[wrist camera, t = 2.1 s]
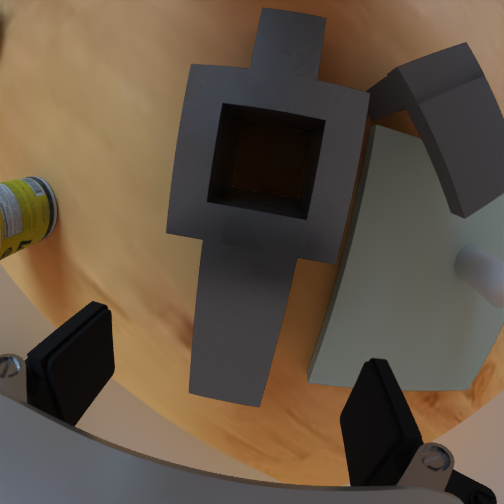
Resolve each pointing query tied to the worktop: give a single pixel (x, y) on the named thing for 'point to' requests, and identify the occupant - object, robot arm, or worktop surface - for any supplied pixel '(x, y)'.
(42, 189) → the supplement bottle
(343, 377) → the board
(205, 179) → the link
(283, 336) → the worktop surface
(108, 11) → the worktop surface
